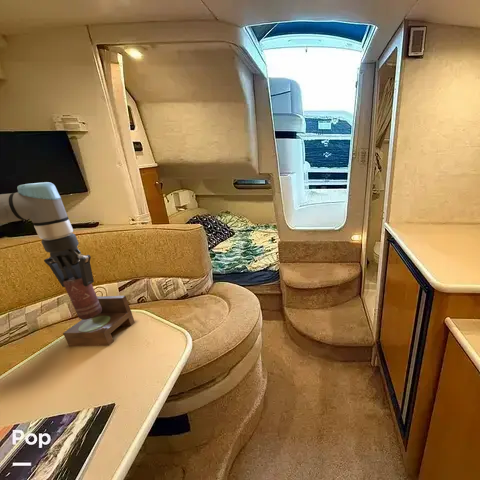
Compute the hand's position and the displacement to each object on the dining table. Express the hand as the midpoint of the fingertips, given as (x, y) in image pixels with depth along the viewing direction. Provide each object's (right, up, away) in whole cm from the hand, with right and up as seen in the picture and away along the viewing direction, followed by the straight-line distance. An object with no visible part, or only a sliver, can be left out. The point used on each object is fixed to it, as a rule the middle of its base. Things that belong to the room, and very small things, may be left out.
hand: (86, 304), depth 87 cm
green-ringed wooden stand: (+1, -12, +6) cm, 14 cm away
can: (+1, -4, +1) cm, 4 cm away
